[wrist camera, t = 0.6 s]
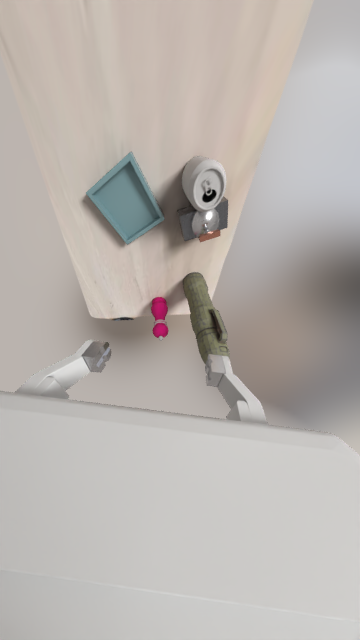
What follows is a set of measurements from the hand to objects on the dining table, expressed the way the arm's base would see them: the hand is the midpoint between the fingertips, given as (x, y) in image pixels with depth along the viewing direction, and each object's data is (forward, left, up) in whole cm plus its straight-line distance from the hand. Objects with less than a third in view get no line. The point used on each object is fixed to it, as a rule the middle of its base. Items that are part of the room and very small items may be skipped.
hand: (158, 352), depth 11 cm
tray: (-4, -5, -41) cm, 42 cm away
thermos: (+27, 0, -41) cm, 50 cm away
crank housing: (+8, +10, -41) cm, 43 cm away
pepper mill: (+29, -18, -41) cm, 54 cm away
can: (0, +12, -41) cm, 43 cm away
